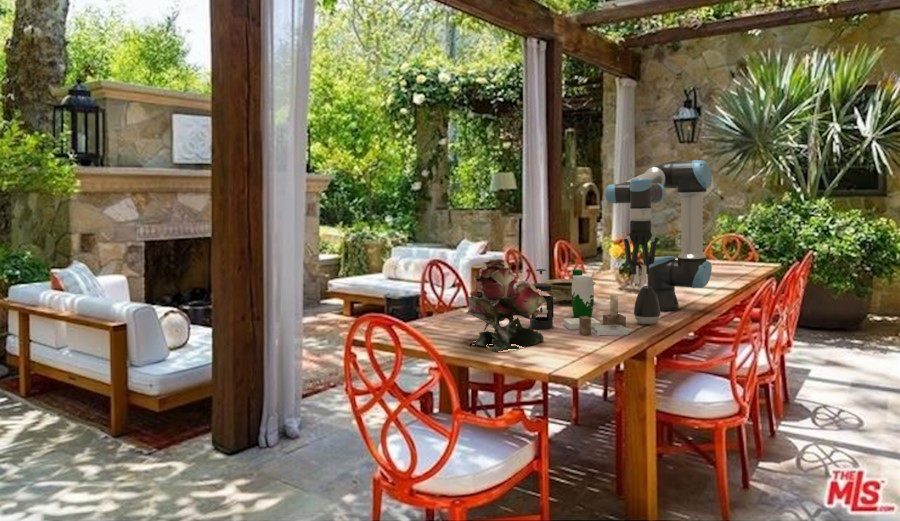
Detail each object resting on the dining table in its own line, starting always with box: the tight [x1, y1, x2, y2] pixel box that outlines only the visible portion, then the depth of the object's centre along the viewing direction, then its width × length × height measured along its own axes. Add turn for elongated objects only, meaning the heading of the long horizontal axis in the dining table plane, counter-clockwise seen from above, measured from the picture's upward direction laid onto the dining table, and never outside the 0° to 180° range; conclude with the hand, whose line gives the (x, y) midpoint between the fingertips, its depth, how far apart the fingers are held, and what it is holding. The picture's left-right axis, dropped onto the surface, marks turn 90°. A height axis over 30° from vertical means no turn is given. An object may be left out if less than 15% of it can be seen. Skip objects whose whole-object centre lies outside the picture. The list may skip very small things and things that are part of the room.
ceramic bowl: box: [543, 278, 596, 305], centre depth 326 cm, size 30×24×10 cm
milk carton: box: [571, 269, 595, 319], centre depth 289 cm, size 9×9×20 cm
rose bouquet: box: [465, 258, 547, 352], centre depth 245 cm, size 26×29×30 cm
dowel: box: [609, 294, 619, 317], centre depth 270 cm, size 3×3×12 cm
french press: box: [528, 268, 554, 330], centre depth 270 cm, size 12×9×23 cm
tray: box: [562, 317, 601, 331], centre depth 269 cm, size 12×10×2 cm
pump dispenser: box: [633, 285, 661, 325], centre depth 273 cm, size 10×10×15 cm
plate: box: [591, 324, 630, 337], centre depth 258 cm, size 12×9×2 cm
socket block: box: [602, 313, 627, 328], centre depth 270 cm, size 7×7×4 cm
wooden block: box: [578, 316, 592, 336], centre depth 257 cm, size 3×5×6 cm, turn 5°
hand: (640, 282), depth 257 cm, fingers open, 2 cm apart
